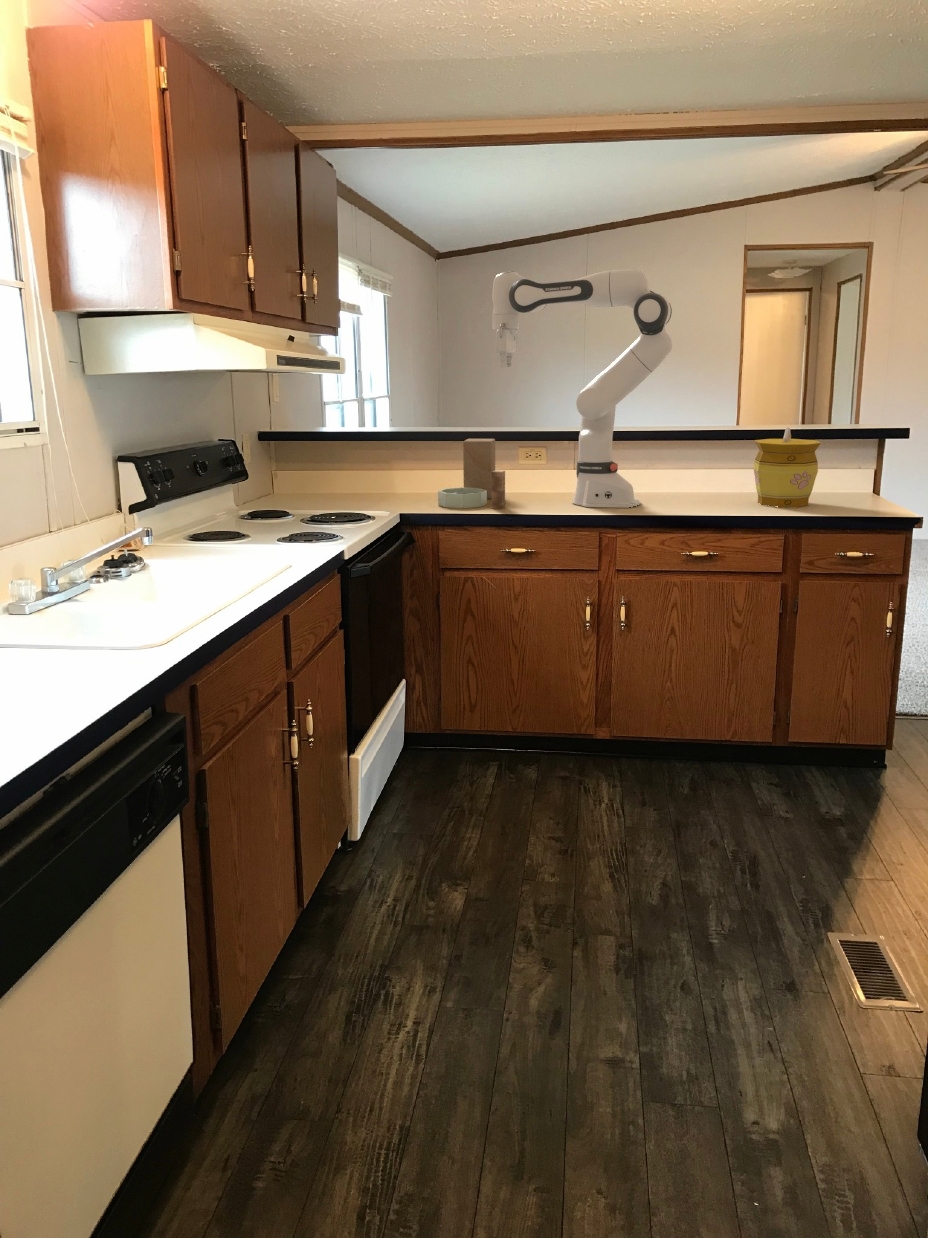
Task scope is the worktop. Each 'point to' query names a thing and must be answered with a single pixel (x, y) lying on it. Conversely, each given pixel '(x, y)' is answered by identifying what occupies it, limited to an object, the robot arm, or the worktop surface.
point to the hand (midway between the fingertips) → (506, 367)
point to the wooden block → (479, 464)
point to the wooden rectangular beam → (498, 489)
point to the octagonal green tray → (462, 497)
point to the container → (785, 471)
